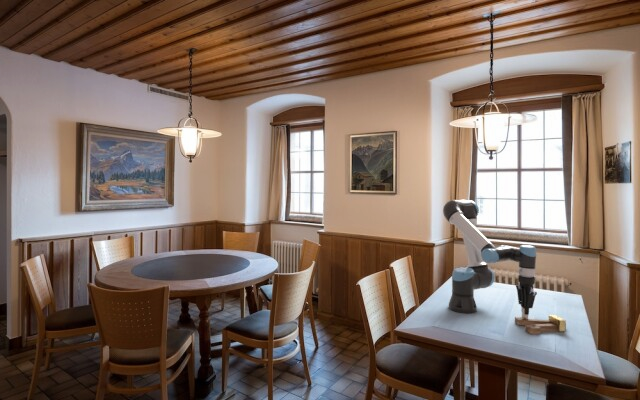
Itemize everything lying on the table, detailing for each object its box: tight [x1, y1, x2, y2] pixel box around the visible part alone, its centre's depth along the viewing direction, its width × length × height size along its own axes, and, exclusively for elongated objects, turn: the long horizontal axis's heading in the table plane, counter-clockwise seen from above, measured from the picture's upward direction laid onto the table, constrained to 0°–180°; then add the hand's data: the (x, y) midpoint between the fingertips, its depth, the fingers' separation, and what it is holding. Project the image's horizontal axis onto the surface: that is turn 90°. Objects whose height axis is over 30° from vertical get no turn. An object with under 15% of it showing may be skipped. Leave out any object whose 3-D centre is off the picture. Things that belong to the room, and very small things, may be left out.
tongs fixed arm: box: [524, 323, 559, 335], centre depth 174 cm, size 4×18×3 cm, turn 97°
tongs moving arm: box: [514, 316, 567, 330], centre depth 181 cm, size 6×22×3 cm, turn 81°
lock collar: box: [548, 314, 567, 332], centre depth 177 cm, size 7×3×5 cm, turn 7°
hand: (524, 319), depth 186 cm, fingers closed
